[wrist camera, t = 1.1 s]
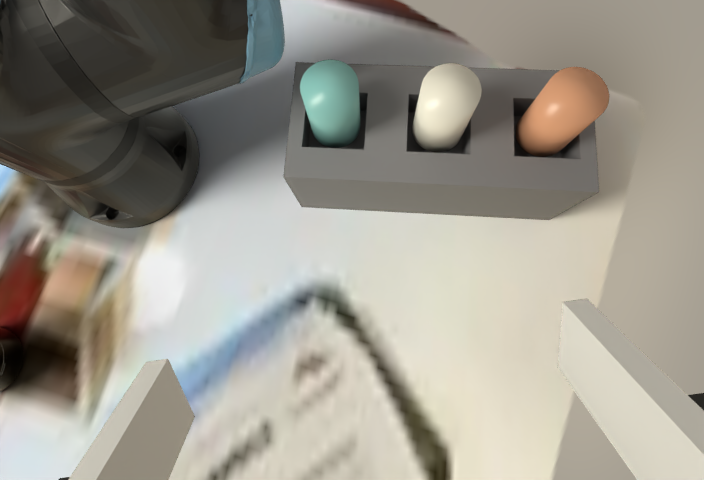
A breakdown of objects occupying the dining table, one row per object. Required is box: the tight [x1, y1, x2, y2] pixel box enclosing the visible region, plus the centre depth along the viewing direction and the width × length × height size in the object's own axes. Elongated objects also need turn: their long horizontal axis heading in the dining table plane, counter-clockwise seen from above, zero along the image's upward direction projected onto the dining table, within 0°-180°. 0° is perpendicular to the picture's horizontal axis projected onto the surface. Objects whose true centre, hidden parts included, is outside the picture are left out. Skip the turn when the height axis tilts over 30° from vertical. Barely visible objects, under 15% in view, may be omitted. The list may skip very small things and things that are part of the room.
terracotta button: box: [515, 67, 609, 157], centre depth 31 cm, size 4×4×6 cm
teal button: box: [300, 60, 361, 148], centre depth 32 cm, size 4×4×6 cm
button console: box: [284, 62, 599, 220], centre depth 38 cm, size 26×11×9 cm, turn 86°
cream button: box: [412, 63, 482, 152], centre depth 31 cm, size 4×4×6 cm
